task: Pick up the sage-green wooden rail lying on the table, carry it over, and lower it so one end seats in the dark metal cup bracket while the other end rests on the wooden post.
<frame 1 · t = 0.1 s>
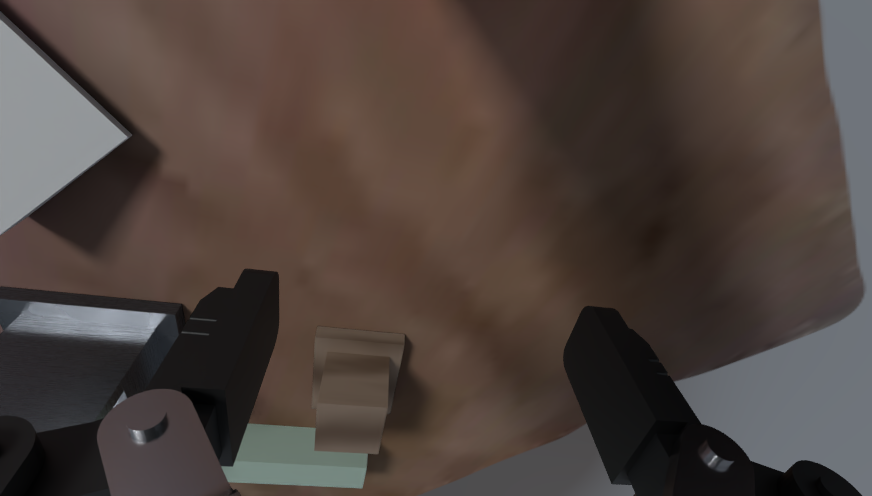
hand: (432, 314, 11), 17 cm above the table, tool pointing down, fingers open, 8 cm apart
green rail: (244, 431, 43), on the table
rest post: (356, 367, 38), on the table
cup bracket: (110, 347, 35), on the table
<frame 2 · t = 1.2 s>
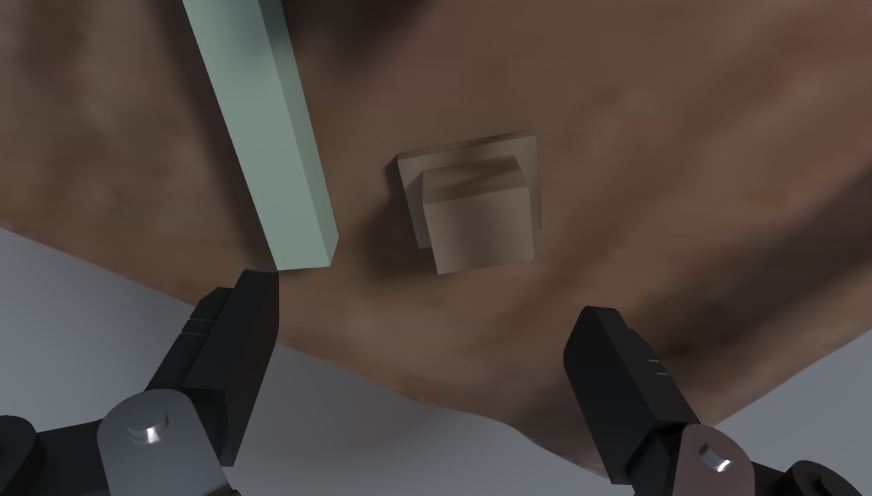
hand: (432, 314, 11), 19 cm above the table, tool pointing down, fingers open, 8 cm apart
green rail: (269, 70, 26), on the table
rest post: (471, 188, 31), on the table
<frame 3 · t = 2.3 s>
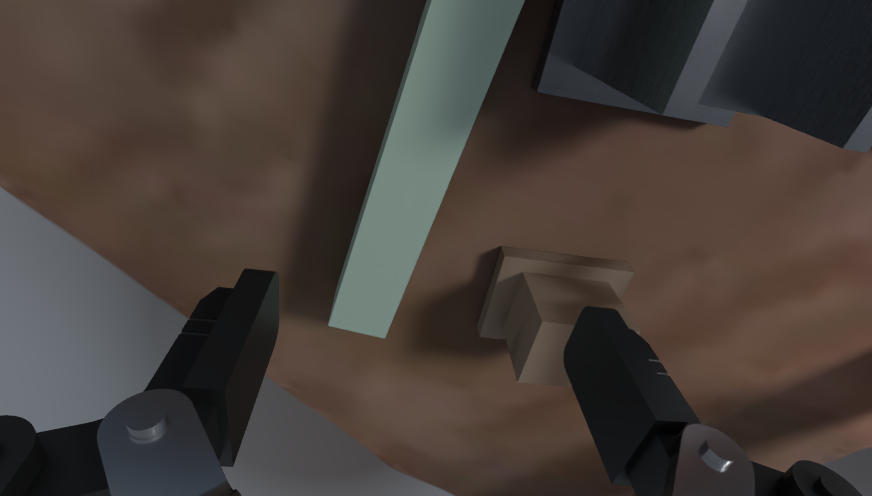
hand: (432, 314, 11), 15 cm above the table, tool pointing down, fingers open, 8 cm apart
green rail: (418, 132, 25), on the table
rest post: (549, 295, 31), on the table
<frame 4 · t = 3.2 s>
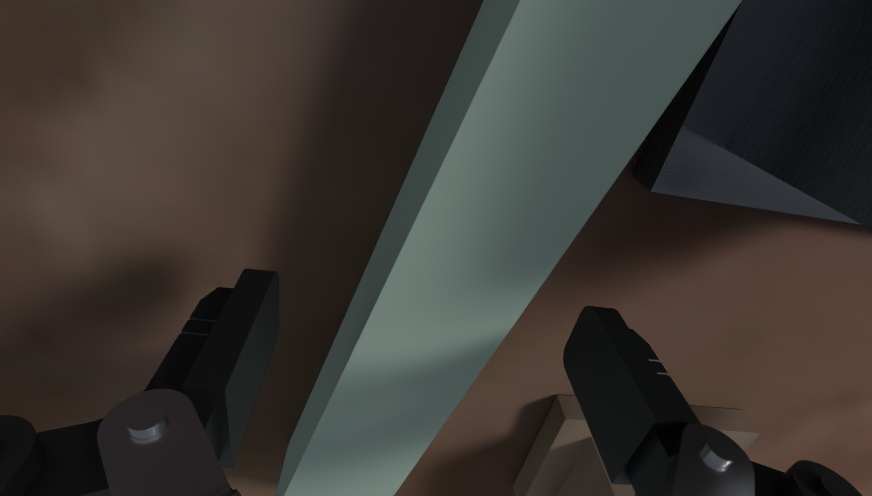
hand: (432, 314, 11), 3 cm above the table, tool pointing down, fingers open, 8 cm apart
green rail: (433, 242, 15), on the table
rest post: (621, 449, 21), on the table
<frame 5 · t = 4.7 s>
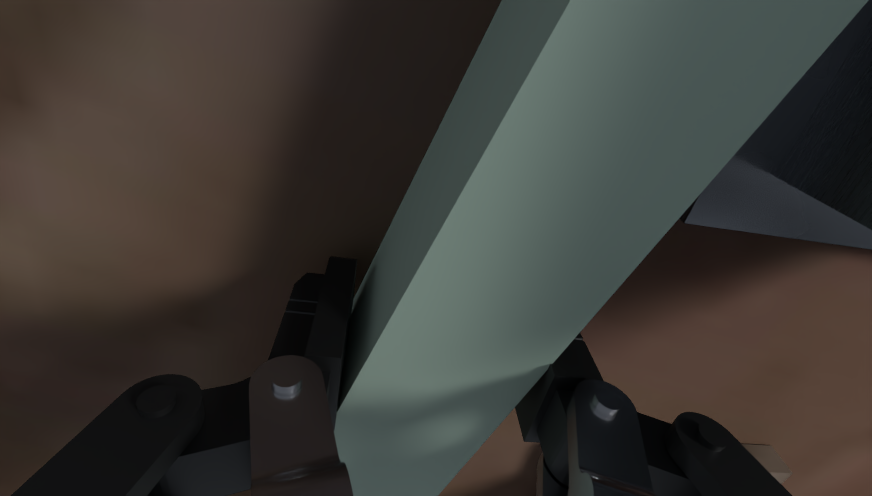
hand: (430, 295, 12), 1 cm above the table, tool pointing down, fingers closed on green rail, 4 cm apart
green rail: (429, 281, 13), on the table, touching gripper
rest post: (638, 487, 19), on the table
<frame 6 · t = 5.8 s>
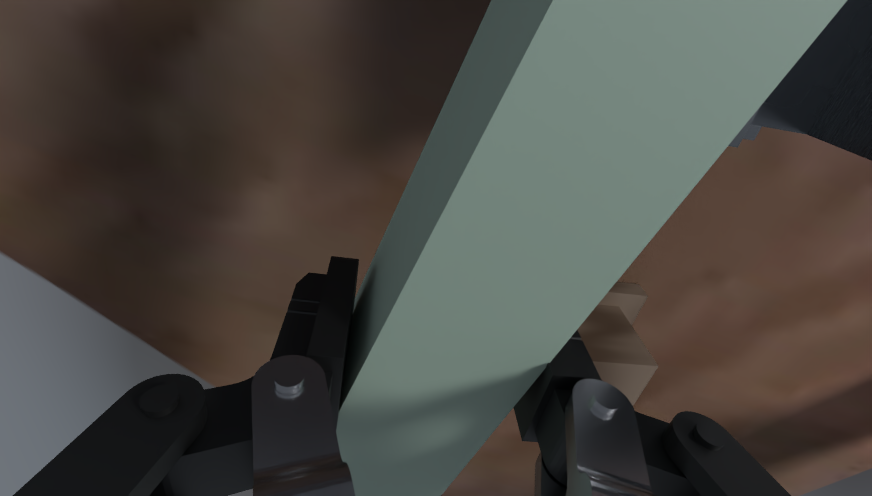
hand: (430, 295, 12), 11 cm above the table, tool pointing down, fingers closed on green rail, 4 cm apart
green rail: (430, 280, 13), point 11 cm above the table, touching gripper
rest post: (554, 319, 29), on the table
when the fingers open (10 cm above the table, at t = 8.3 s): green rail stays where it is, resting on cup bracket, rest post.
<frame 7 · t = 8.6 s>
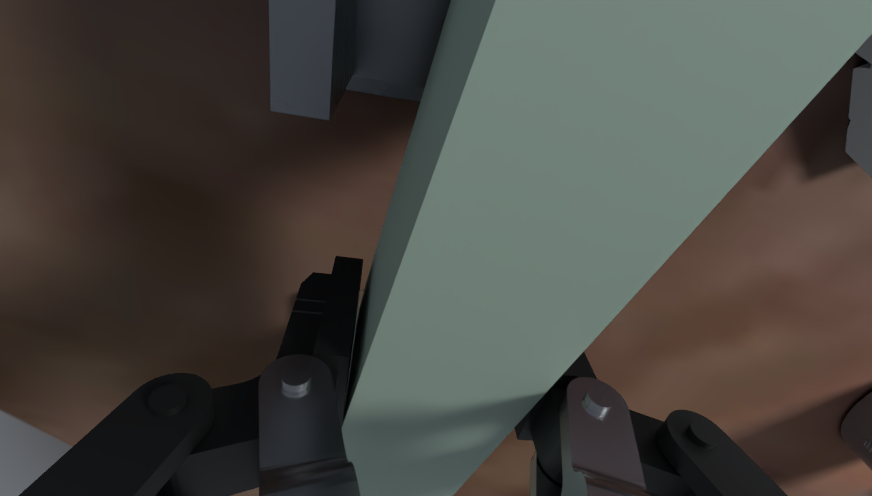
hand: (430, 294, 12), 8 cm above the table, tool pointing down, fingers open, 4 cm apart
green rail: (433, 281, 12), point 8 cm above the table, tilted 10°, touching cup bracket, gripper, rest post
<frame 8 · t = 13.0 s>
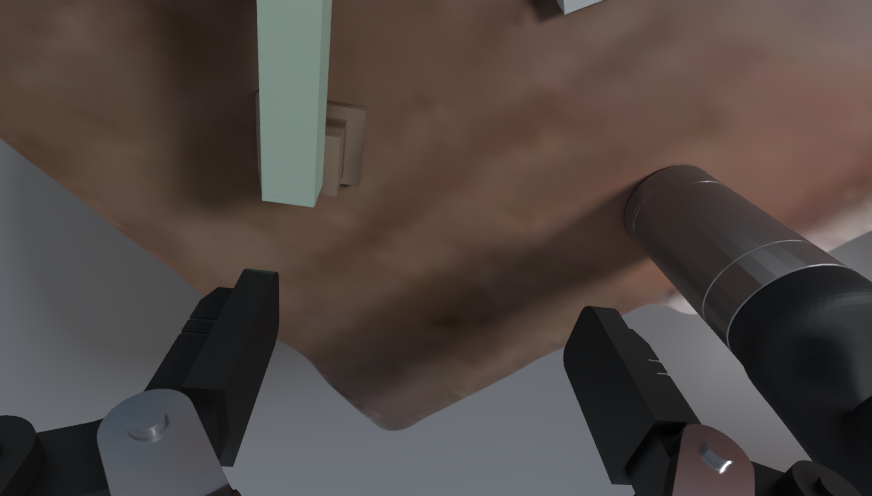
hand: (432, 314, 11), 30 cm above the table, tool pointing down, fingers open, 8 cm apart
green rail: (303, 13, 29), point 6 cm above the table, touching cup bracket, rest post
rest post: (312, 138, 39), on the table
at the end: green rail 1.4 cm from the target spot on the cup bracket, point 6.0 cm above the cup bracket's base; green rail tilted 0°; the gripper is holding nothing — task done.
